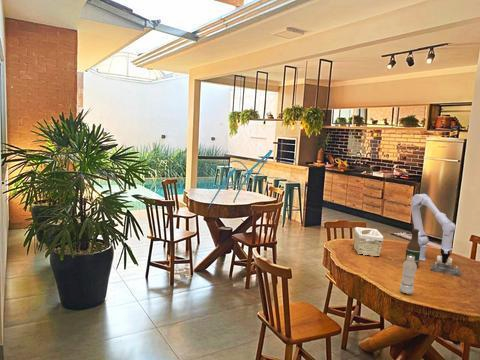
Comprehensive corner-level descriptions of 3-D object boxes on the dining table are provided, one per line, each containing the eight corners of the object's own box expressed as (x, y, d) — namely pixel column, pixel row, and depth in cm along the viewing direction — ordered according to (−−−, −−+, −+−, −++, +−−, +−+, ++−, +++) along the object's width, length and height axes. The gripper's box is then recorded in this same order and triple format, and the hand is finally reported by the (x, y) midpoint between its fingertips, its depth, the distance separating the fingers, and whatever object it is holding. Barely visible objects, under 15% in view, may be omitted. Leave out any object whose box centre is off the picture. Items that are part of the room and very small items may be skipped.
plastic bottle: (396, 290, 190) (401, 253, 188) (409, 290, 191) (413, 253, 189) (403, 295, 184) (408, 257, 182) (415, 296, 185) (420, 258, 182)
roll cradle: (430, 270, 225) (431, 264, 225) (431, 265, 234) (431, 259, 234) (460, 276, 218) (461, 270, 217) (460, 271, 227) (460, 265, 226)
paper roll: (436, 263, 235) (437, 256, 234) (436, 261, 239) (437, 254, 239) (451, 266, 231) (452, 259, 230) (451, 264, 235) (452, 257, 235)
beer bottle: (417, 265, 233) (422, 229, 230) (418, 269, 226) (423, 231, 223) (404, 263, 236) (409, 227, 233) (404, 266, 229) (409, 229, 226)
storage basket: (351, 245, 269) (354, 226, 267) (374, 248, 266) (377, 228, 265) (356, 255, 245) (359, 234, 244) (381, 258, 243) (384, 237, 241)
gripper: (454, 245, 225) (451, 266, 227) (453, 239, 238) (451, 260, 239) (441, 242, 228) (438, 263, 230) (441, 237, 241) (438, 257, 243)
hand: (444, 261), depth 235 cm, fingers closed on paper roll, 5 cm apart
